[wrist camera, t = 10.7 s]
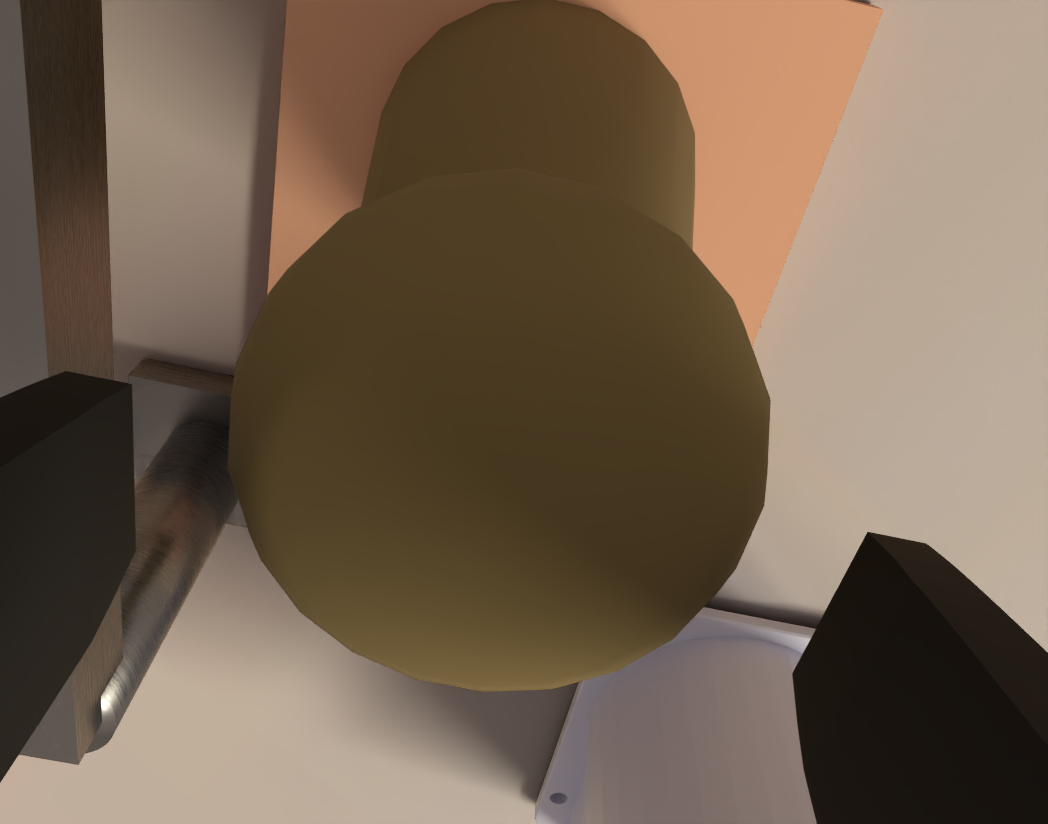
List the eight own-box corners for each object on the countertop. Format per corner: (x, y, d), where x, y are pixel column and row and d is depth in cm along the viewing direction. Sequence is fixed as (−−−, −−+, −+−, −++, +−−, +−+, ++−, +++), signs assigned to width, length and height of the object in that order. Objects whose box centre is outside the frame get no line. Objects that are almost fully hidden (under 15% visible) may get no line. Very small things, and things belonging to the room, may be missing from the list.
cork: (309, 121, 16) (-42, 449, 7) (591, -81, 15) (623, 1, 5) (491, 367, 19) (412, 852, 10) (752, 222, 17) (972, 648, 8)
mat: (697, 464, 21) (700, 479, 20) (269, 376, 20) (261, 389, 20) (873, 4, 16) (883, 9, 15) (305, -134, 15) (296, -134, 14)
